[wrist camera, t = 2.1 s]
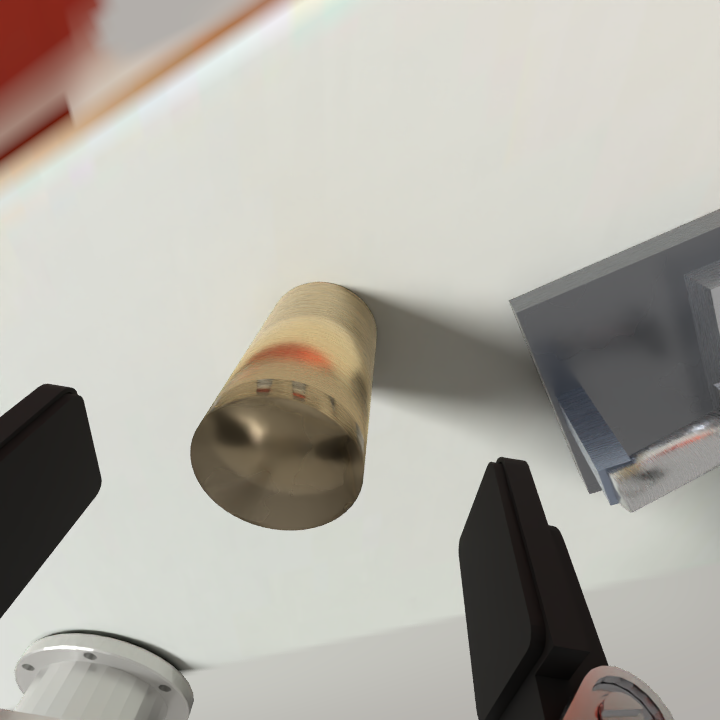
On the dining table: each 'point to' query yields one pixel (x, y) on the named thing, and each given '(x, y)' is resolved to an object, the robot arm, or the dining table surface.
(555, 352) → the coupling stand
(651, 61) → the dining table surface
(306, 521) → the cylinder
